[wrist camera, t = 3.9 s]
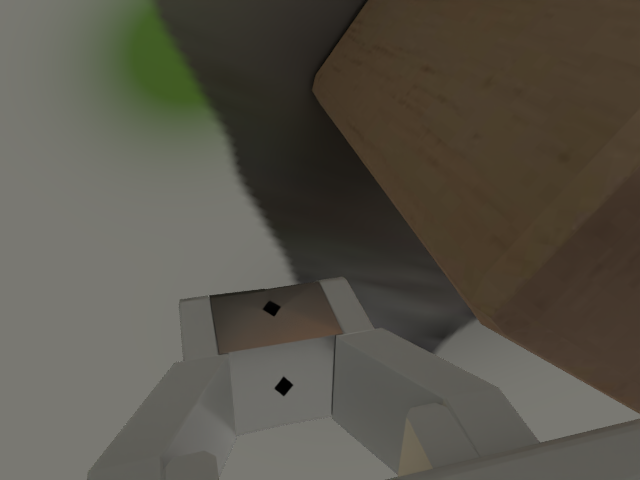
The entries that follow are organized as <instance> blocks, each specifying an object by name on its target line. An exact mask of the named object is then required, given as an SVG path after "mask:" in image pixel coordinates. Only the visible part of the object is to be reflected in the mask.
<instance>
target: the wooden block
mask: <svg viewBox="0 0 640 480" xmlns="http://www.w3.org/2000/svg"><path fill="white" fill-rule="evenodd" d="M312 91H313V93H314V95H315V96H316V98H317V100H318V101H319V103H320V104H321V106H322V107H323V108H324V110H325V111H326V113H327V114H328V115H329V117H330V118H331V119H332V121H333V122H334V123H335V125H336V126H337V128H338V129H339V130H340V132H341V133H342V134H343V136H344V137H345V139H346V140H347V141H348V143H349V144H350V145H351V147H352V148H353V149H354V151H355V152H356V154H357V155H358V156H359V158H360V159H361V160H362V162H363V163H364V164H365V166H366V167H367V169H368V170H369V171H370V173H371V174H372V175H373V177H374V178H375V179H376V181H377V182H378V184H379V185H380V186H381V188H382V189H383V190H384V192H385V193H386V194H387V196H388V197H389V199H390V200H391V201H392V203H393V204H394V205H395V207H396V208H397V209H398V211H399V212H400V214H401V215H402V216H403V218H404V219H405V220H406V222H407V223H408V224H409V226H410V227H411V229H412V230H413V231H414V233H415V234H416V235H417V237H418V238H419V239H420V241H421V242H422V244H423V245H424V246H425V248H426V249H427V250H428V252H429V253H430V254H431V256H432V257H433V259H434V260H435V261H436V263H437V264H438V265H439V267H440V268H441V269H442V271H443V272H444V274H445V275H446V276H447V278H448V279H449V280H450V282H451V283H452V285H453V286H454V287H455V289H456V290H457V291H458V293H459V294H460V295H461V297H462V298H463V300H464V301H465V302H466V304H467V305H468V306H469V308H470V309H471V310H472V312H473V313H474V315H475V316H476V317H477V319H478V320H479V321H480V323H481V324H482V325H484V326H486V327H487V328H489V329H491V330H493V331H494V332H496V333H498V334H500V335H501V336H503V337H505V338H507V339H509V340H510V341H512V342H514V343H516V344H517V345H519V346H521V347H523V348H524V349H526V350H528V351H530V352H531V353H533V354H535V355H537V356H539V357H541V358H542V359H544V360H546V361H547V362H549V363H551V364H553V365H555V366H556V367H558V368H560V369H562V370H563V371H565V372H567V373H569V374H571V375H572V376H574V377H576V378H577V379H579V380H581V381H583V382H585V383H586V384H588V385H590V386H592V387H593V388H595V389H597V390H599V391H601V392H602V393H604V394H606V395H608V396H609V397H611V398H613V399H615V400H616V401H618V402H620V403H622V404H624V405H625V406H627V407H629V408H630V409H632V410H634V411H636V412H638V413H639V414H640V0H368V1H367V2H366V4H365V5H364V7H363V8H362V10H361V11H360V12H359V14H358V15H357V17H356V18H355V20H354V21H353V22H352V24H351V25H350V27H349V28H348V30H347V31H346V32H345V34H344V35H343V37H342V38H341V40H340V41H339V42H338V44H337V45H336V47H335V48H334V50H333V51H332V52H331V54H330V55H329V57H328V58H327V60H326V61H325V62H324V64H323V65H322V67H321V68H320V70H319V71H318V72H317V74H316V75H315V79H314V84H313V88H312Z"/></svg>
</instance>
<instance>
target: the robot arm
mask: <svg viewBox="0 0 640 480" xmlns="http://www.w3.org/2000/svg"><path fill="white" fill-rule="evenodd" d="M209 298H210V299H209ZM179 313H180V326H181V338H182V352H183V361H181V362H176V363H174V364H173V365H172V367H171V368H170V369H169V370H168V372H167V373H166V374H165V375H164V377H163V378H162V379H161V380H160V382H159V383H158V384H157V385H156V387H155V388H154V389H153V391H152V392H151V393H150V394H149V396H148V397H147V398H146V399H145V401H144V402H143V403H142V405H141V406H140V407H139V408H138V409H137V411H136V412H135V413H134V415H133V416H132V417H131V418H130V420H129V421H128V422H127V423H126V425H125V426H124V427H123V429H122V430H121V431H120V432H119V433H118V435H117V436H116V437H115V439H114V440H113V441H112V442H111V444H110V445H109V446H108V447H107V449H106V450H105V451H104V452H103V454H102V455H101V456H100V458H99V459H98V460H97V461H96V463H95V464H94V465H93V467H92V468H91V469H90V470H89V471H88V476H87V480H219V477H220V475H221V472H222V470H223V468H224V466H225V463H226V461H227V459H228V457H229V454H230V452H231V450H232V448H233V445H234V443H235V441H236V436H239V435H244V434H248V433H252V432H257V431H261V430H265V429H270V428H274V427H278V426H282V425H284V424H285V425H288V424H293V423H299V422H305V421H310V420H316V419H322V418H327V417H332V419H333V420H334V421H335V422H336V423H338V424H339V425H340V426H341V427H342V428H343V429H345V430H346V431H347V432H348V433H349V434H350V435H352V436H353V437H354V438H355V439H356V440H357V441H359V442H360V443H361V444H362V445H363V446H364V447H366V448H367V449H368V450H369V451H370V452H372V453H373V454H374V455H375V456H376V457H377V458H378V459H380V460H381V461H382V462H383V463H384V464H386V465H387V466H388V467H389V468H390V469H391V470H393V471H394V472H395V473H396V474H397V475H398V477H395V478H391V479H387V480H640V419H637V420H633V421H629V422H625V423H621V424H616V425H612V426H608V427H604V428H599V429H595V430H591V431H587V432H583V433H579V434H575V435H570V436H566V437H562V438H558V439H554V440H549V441H545V442H541V443H540V442H539V441H538V440H537V438H536V437H535V435H534V434H533V433H532V431H531V430H530V429H529V427H528V426H527V425H526V423H525V422H524V421H523V419H522V418H521V417H520V416H519V414H518V413H517V411H516V410H515V409H514V407H513V406H512V405H511V404H510V402H509V401H508V399H507V398H506V397H505V396H504V394H503V393H502V392H501V390H500V389H499V388H498V387H496V386H494V385H492V384H490V383H488V382H486V381H484V380H482V379H480V378H478V377H477V376H475V375H473V374H471V373H469V372H467V371H465V370H463V369H461V368H459V367H457V366H455V365H453V364H451V363H449V362H447V361H445V360H444V359H441V358H440V357H438V356H436V355H434V354H432V353H430V352H428V351H426V350H424V349H422V348H420V347H418V346H416V345H414V344H412V343H410V342H409V341H407V340H405V339H403V338H401V337H399V336H397V335H395V334H393V333H391V332H389V331H387V330H385V329H383V328H379V329H374V327H373V325H372V323H371V322H370V320H369V318H368V316H367V315H366V313H365V311H364V309H363V308H362V306H361V304H360V302H359V301H358V299H357V297H356V295H355V294H354V292H353V290H352V288H351V287H350V285H349V283H348V281H347V280H346V278H344V277H336V278H330V279H324V280H318V281H316V282H310V283H304V284H297V285H291V286H284V287H277V288H271V289H259V290H251V291H242V292H235V293H226V294H217V295H210V296H209V297H208V296H202V297H194V298H188V299H180V301H179Z"/></svg>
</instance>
